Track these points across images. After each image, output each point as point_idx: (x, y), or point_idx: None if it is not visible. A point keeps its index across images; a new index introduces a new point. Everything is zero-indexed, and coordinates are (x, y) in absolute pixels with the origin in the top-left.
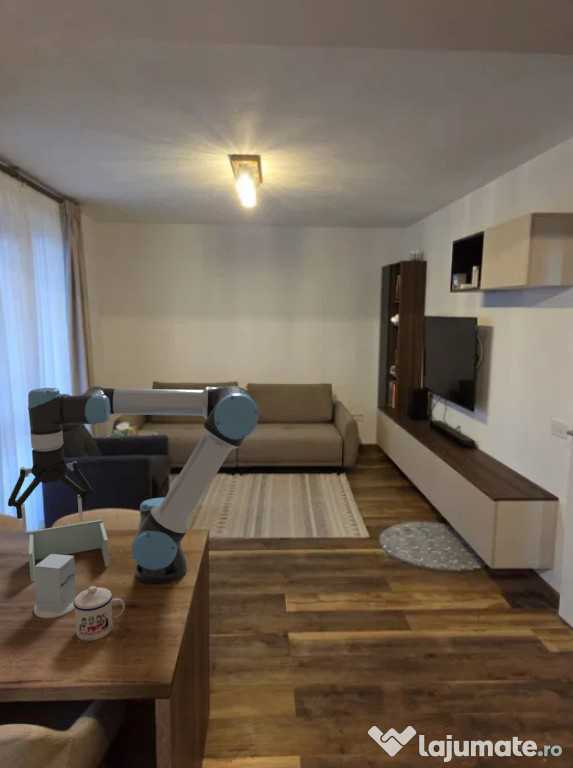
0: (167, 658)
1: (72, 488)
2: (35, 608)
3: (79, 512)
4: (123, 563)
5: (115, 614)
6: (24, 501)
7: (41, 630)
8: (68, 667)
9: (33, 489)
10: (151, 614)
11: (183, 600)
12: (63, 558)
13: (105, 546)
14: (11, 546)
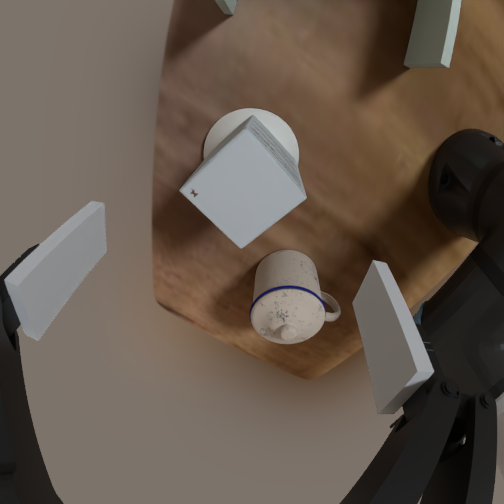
0: (331, 365)
1: (357, 487)
2: (207, 145)
3: (362, 339)
4: (439, 82)
5: (323, 292)
6: (20, 367)
7: (207, 220)
8: (226, 321)
9: (39, 462)
10: None
11: (430, 286)
12: (271, 196)
13: (432, 64)
14: None
